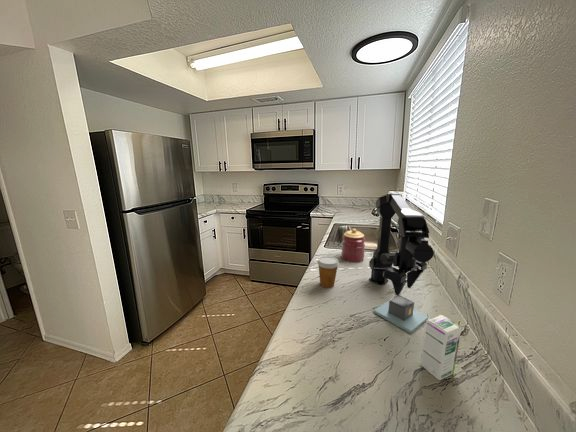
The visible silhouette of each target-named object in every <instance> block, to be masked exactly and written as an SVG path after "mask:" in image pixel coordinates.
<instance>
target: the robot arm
mask: <svg viewBox="0 0 576 432" xmlns="http://www.w3.org/2000/svg"><path fill="white" fill-rule="evenodd" d="M402 195H403V194H402V193H400V192H388V193H386V194H385V195H383V196H380V197H378V198H377V199H376V200H375V208H376V213H377V214H378V216H379V225H378V237H377V248H375V250H374V251H373V254H372V257H371V258H370V260H369V263H368V264H369V265H368V267H369V268H370V269H371V271H370V273H371V274H370V275H371V276H370V278H368V280H369V281H371V282H373V283H375V284H378V285H380V286H382V285H383V284H385V283H387V282H389V281H391V283H392V286H393V290H394V294H395V295H396V296H397V295H400V294H401V293H402V291H403V289H404V287H405V285H406V287H407V289H411V288H412V287H413V286H414V284H415V283H416V281H418V279H419V278H420V276H421V275H422V274H423V273H424V272H425V270H427V267H428V263H427V262H429V261H430V260H432V258H433V257H434V253H435V252H434V250H433V249H434V248H433V247H432V246H431V245H429V240H428V239H429V238H430V234H429V233H430V230H429V227H428V223H427V220H426V217H425V216H424V215H423V214H422V213H421V212H419V211H418V210H417V211H416V210H415V209H412V208H411V207H410V206H409V204H408V203H407V202H406V200H405V199H404V197H403V196H402ZM395 215H396V217H398V219H397V226H398V229H399V234H400V238H399V247H398V250H397V251H396V252H390V251H389V249H390V238H391V228H392V227H391V225H392V219H393V217H394V216H395Z"/></svg>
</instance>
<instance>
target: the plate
mask: <svg viewBox="0 0 576 432" xmlns="http://www.w3.org/2000/svg"><path fill="white" fill-rule="evenodd" d="M390 300H391V299H389V300H388V301H386V302H384V303H383V304H381V305H379V306H378V307H376V308H374V309H373V313H374V314H375V315H378V316H379V317H381V318H383V319H384V320H386V321H388V322H390V323H392V324H393V325H395V326H397V327H398V328H400V329H401V330H404V331H406V332H408V333H409V334H412V333H414V332H415V331H416V330H417V329H418V328H419V327H421V326H422V325H423V324H424V323H425V322H426V320H428V319H429V317H428V316H427V315H425V314H423V313H421V312H419V311H417V310H415V309H413V315H411V316H410V317H409V318H407V319H406V320H405V321H403V320H402V319H400V318H398V317H396V316H394V315H392V314H390V313H389V312H388V310H389V301H390Z"/></svg>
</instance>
